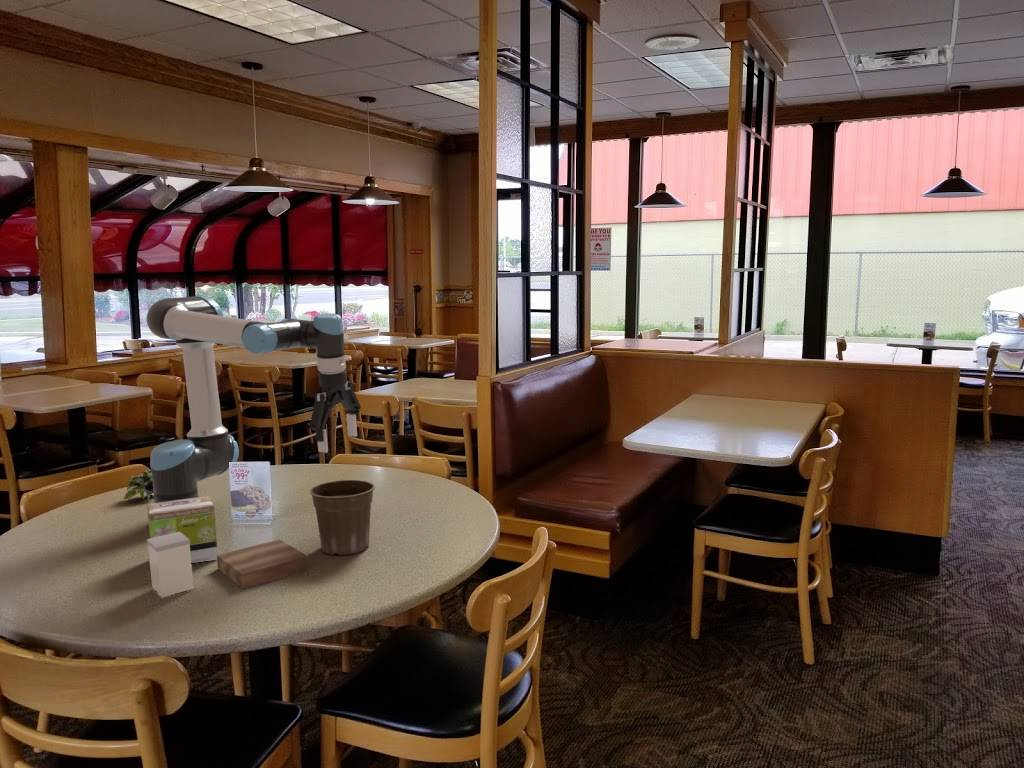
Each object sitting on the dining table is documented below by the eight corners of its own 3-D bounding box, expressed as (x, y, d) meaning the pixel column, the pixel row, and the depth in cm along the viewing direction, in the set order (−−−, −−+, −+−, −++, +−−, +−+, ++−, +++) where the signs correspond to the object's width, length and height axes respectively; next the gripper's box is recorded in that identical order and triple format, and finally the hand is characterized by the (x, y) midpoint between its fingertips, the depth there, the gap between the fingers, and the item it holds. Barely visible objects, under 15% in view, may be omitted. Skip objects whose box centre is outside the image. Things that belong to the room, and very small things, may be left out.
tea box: (153, 572, 186) (147, 514, 184) (151, 559, 195) (145, 503, 192) (219, 560, 193) (214, 503, 190) (214, 548, 201) (209, 493, 199)
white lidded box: (151, 589, 176) (146, 539, 174) (184, 580, 181) (179, 531, 179) (161, 598, 171) (156, 547, 169) (194, 589, 175) (189, 539, 173)
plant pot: (355, 532, 211) (352, 475, 208) (390, 546, 199) (387, 486, 197) (302, 548, 200) (298, 488, 197) (335, 564, 188) (331, 501, 186)
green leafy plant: (152, 511, 251) (172, 479, 254) (151, 515, 241) (172, 480, 244) (119, 496, 247) (139, 463, 250) (117, 499, 237) (138, 464, 240)
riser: (218, 570, 187) (216, 555, 187) (280, 554, 197) (279, 539, 197) (243, 590, 175) (241, 573, 174) (308, 571, 185) (307, 555, 185)
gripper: (314, 383, 197) (321, 460, 203) (369, 361, 219) (374, 431, 225) (291, 381, 200) (298, 456, 206) (348, 358, 222) (353, 427, 228)
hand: (338, 443), depth 215 cm, fingers open, 13 cm apart
